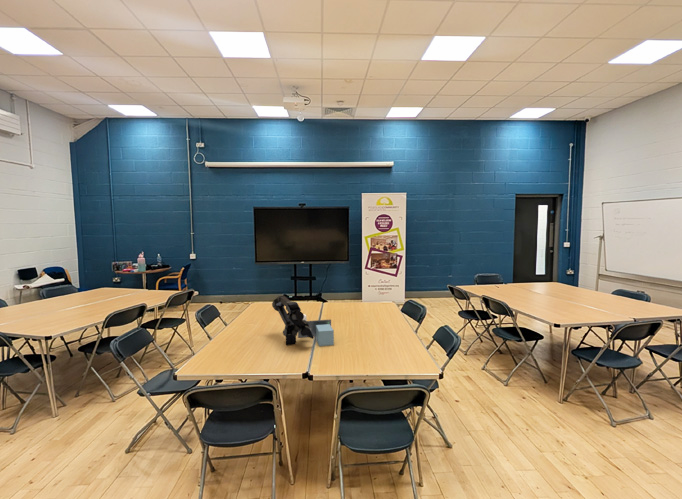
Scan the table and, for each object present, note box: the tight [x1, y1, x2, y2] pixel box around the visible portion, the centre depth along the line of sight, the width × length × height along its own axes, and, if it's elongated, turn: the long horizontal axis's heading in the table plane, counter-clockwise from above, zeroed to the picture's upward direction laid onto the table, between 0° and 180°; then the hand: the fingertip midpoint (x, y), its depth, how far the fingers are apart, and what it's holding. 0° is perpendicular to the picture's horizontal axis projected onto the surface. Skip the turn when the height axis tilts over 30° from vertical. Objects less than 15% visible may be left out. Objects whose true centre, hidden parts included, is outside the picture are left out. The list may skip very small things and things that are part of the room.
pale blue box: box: [315, 324, 335, 347], centre depth 214 cm, size 10×14×10 cm
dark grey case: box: [297, 318, 332, 339], centre depth 219 cm, size 30×25×12 cm
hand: (312, 335), depth 211 cm, fingers open, 9 cm apart
